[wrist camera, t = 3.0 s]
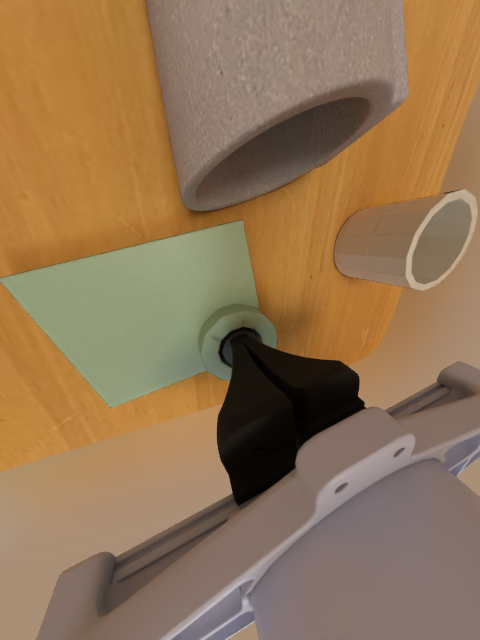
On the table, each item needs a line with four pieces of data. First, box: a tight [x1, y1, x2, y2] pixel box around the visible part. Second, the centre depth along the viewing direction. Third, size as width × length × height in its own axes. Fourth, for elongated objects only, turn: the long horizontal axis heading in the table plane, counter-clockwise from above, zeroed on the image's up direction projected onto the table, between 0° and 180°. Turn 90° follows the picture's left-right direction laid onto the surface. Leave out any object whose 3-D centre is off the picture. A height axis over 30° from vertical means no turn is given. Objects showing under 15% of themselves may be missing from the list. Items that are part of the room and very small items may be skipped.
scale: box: [0, 220, 277, 408], centre depth 12 cm, size 11×13×2 cm
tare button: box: [220, 327, 259, 364], centre depth 13 cm, size 3×3×2 cm
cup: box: [334, 189, 478, 291], centre depth 13 cm, size 6×6×6 cm
